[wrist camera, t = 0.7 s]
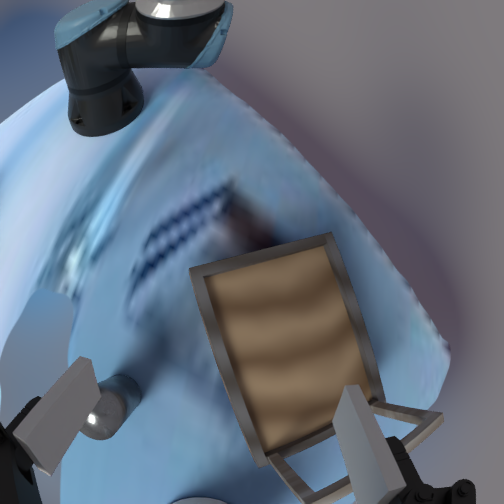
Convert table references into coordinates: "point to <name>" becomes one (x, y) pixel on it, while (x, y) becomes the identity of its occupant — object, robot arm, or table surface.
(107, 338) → the table surface
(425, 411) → the caster cart
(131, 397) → the steel cylinder
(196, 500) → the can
